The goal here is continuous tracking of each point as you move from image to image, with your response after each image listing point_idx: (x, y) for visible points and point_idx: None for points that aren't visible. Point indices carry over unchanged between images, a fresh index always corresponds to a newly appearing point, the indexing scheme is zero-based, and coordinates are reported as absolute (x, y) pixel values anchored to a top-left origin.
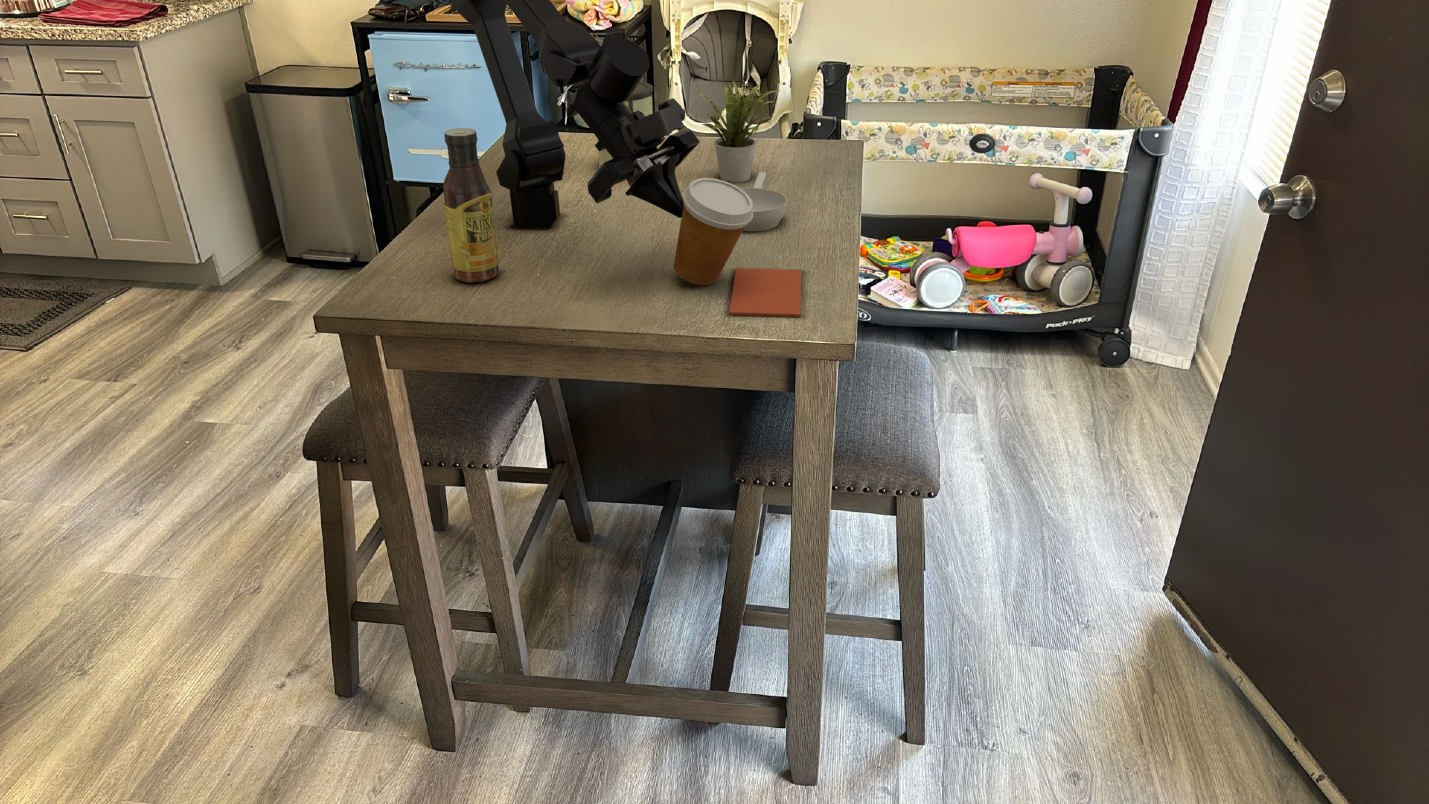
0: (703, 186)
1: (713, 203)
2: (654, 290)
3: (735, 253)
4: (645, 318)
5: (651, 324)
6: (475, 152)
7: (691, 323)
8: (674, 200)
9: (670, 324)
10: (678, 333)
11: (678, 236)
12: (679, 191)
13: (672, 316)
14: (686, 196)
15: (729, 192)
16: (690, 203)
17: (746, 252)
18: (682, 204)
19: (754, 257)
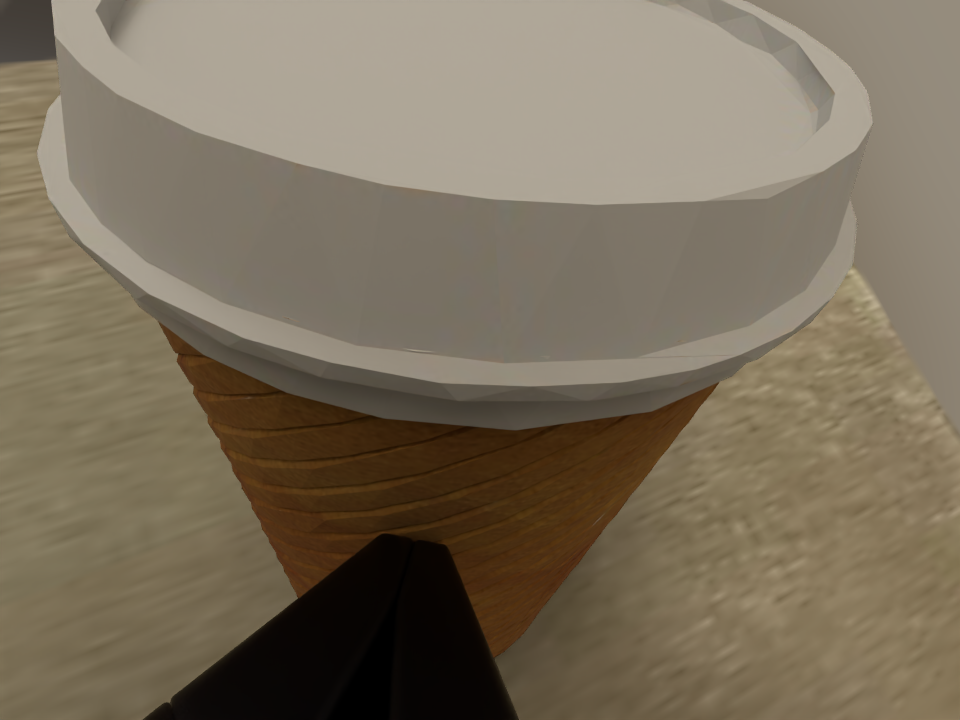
0: (392, 145)
1: (646, 63)
2: (643, 709)
3: (23, 481)
4: (919, 596)
5: (944, 542)
6: None
7: (833, 394)
8: (471, 654)
9: (892, 466)
10: (930, 408)
11: (525, 592)
12: (232, 669)
13: (830, 489)
14: (781, 278)
15: (267, 8)
16: (841, 221)
17: (2, 431)
18: (374, 580)
19: (72, 374)
